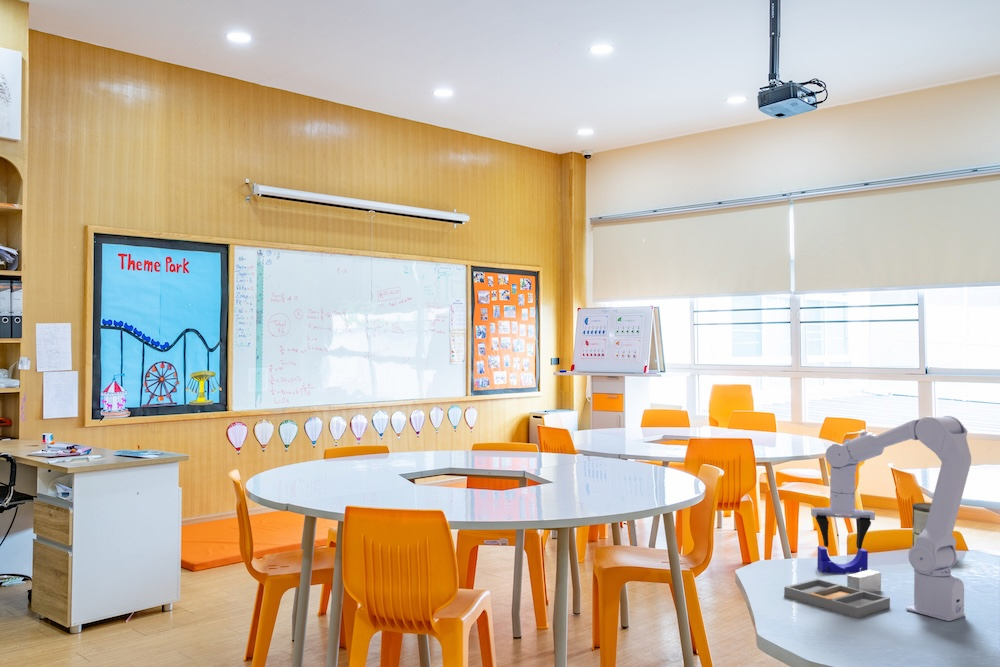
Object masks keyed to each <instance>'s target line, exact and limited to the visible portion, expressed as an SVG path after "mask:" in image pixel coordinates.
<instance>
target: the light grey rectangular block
mask: <svg viewBox="0 0 1000 667" xmlns="http://www.w3.org/2000/svg"><path fill="white" fill-rule="evenodd" d="M846 577H847V582H846V583H847V584H846V586H847V587H851V588H854V589H858V590H862V591H866V592H869V593H873V594H874V593H875V592H879V591H882V572H881V571H877V570H873V569H868V570H865V571H862V572H858V573H850V574H848V575H847V576H846Z"/></svg>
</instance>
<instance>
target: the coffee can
mask: <svg viewBox="0 0 1000 667" xmlns="http://www.w3.org/2000/svg"><path fill="white" fill-rule="evenodd" d="M931 503H932V502H931ZM931 503H930V502H917V503H913V504H912V547H913V546H914V545H915V543H916V540H917V537H918V536H919V535H920V533H921V532H922V531H923V530H924V529H925V527H926V523H927V519H928V515H929V511H930V507H931Z"/></svg>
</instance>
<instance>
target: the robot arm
mask: <svg viewBox="0 0 1000 667" xmlns="http://www.w3.org/2000/svg"><path fill="white" fill-rule="evenodd" d="M968 432H969V431H968V429H967V428H966V427H965V426H964V424H962V422H961V421H960V420H959V419H958V418H957V417H955V416H952V415H951V416H950V415H945V416H935V417H934V416H933V417H932V416H924V417H922V418H920V419H914V420H910V421H907V422H905V423H903V424H901V425H898V426H896V427H893V428H891V429H889V430H887V431H885V432H882V433H879V434H876V433H874V432H868V431H863V432H859V436H857V437H855V438H852V439H850V438H846V439H844V440H843V443H832V445H830V446H829V447H828V448H827V449H826V452H825V459H826V462H827V464H829V465H830V467H829V468H830V472H829V473H830V474H829V475H830V481H829V482H830V484H829V485H830V487H829V488H830V489H829V490H830V494H829V495H830V496H829V498H830V499H829V503H830V505H829V506H830V507H810V515H811V516H812V517H813V518H814V517H815V521H816V523H817V525H818V527H819V529H820V533H821V535H822V536H821V537H822V540H823V547H825V548H829V524H830V521H829V520H828V518H838V519H840V518H843V519H855V521H856V544H855V545H856V548H857V550H858V549H861V548H862V547H863V542H864V540H865V536H866V535H867V534H866V533H867V532H868V531H869V529H870V527H871V524H872V521H875V520H876V519H875V518H876V512H875V511H874V510H864V509H856V472H857V466H858V464H859V463H862V462H865V461H867V460H871V459H873V458H875V457H878V456H881V455H882V454H883V453H884V449H885V448H887V447H890V446H894V445H896V444H900V443H902V442H903V443H904V442H906V441H909V440H913V441H919V442H920V443H922V444H923V445H924V446H925V447H927V448H928V449H929V450H930V451H932V452H933V453H934V454H935V455H936V457H938V459H939V460H940V462H941V465H940V468H939V472H938V477H937V481H936V484H935V487H934V488H935V489H934V492H933V496H932V501H931V507H930V511H929V515H928V519H927V523H926V527H925V529H924V530H923V531H922V532H921V533H920V535H919V536H918V537H917V540H916V543H915V545H914V546H913V545H912V546H911V547H910V549H909V551H908V556H907V557H908V561H909V564H910V565H911V567H912V568H913V572H914V573H913V574H914V582H913V583H914V584H913V585H914V586H913V589H914V591H913V592H914V593H913V596H914V597H913V605H909V606H907V607H905V609H906V610H907V611H910V612H913V613H917V614H920V615H925V616H928V617H932V618H935V619H938V620H943V621H947V622H950V621H954V620H957V619H959V618H962V617H964V616H966V612H965V586H964V582H963V580H962V579H960V578H957V577H954V576H953V575H952V567H953V566H954V565H955V564H956V562H957V559H958V557H957V551H956V545H957V539H956V538H955V537H954V536H953V535H954V534H953V532H954V528H955V526H956V525H955V524H956V522H957V517H958V513H959V510H960V506H961V502H962V498H963V494H964V491H965V486H966V484H967V478H968V475H969V472H970V468H971V465H972V455H971V451H970V448H969V444H968V439H967V437H968V436H967V435H968ZM862 549H863V548H862Z"/></svg>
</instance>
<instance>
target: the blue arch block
mask: <svg viewBox="0 0 1000 667" xmlns="http://www.w3.org/2000/svg"><path fill="white" fill-rule="evenodd" d="M868 554H869V551H868V550H866V549H865V548H861V549H858V548H857V553H856V555H855V556H854V558H853V559H852V560H850V561H849V562H847V563H846V562H845V563H840V564H839V563H835V562H834V561H832V560H831V559H830V557H829V554H828V549H827V547H825V546H817V566H816V567H817V569H818V570H819V571H820V572H821V573H824V572H826V573H827V574H828V573H829V574H847V573H851V574H854V573H858V572H862V571H865V570H869V569H868V566H869V565H868V563H869V562H868V559H869V556H868Z"/></svg>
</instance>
